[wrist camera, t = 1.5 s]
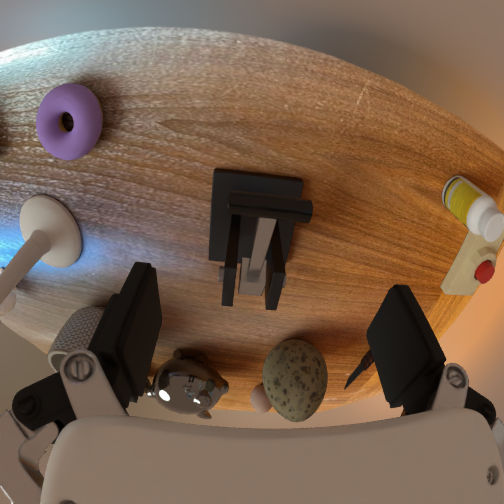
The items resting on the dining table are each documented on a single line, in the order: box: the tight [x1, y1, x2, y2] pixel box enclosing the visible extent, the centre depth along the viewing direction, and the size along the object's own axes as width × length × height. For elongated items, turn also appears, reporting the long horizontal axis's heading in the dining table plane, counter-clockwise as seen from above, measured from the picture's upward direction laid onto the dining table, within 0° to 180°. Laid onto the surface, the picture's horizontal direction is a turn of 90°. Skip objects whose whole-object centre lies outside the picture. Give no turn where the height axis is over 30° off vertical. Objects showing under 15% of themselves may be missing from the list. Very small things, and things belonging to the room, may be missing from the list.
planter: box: [47, 307, 105, 373], centre depth 41 cm, size 14×14×13 cm
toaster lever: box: [227, 191, 313, 296], centre depth 22 cm, size 12×5×2 cm, turn 173°
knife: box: [344, 349, 374, 390], centre depth 52 cm, size 17×1×3 cm, turn 166°
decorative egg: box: [262, 339, 328, 422], centre depth 43 cm, size 11×11×15 cm
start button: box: [475, 260, 495, 284], centre depth 34 cm, size 4×4×2 cm
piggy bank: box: [146, 350, 229, 419], centre depth 48 cm, size 11×15×12 cm
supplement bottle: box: [442, 176, 504, 242], centre depth 28 cm, size 5×5×10 cm
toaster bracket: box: [209, 169, 304, 310], centre depth 30 cm, size 12×10×13 cm
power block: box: [440, 230, 504, 295], centre depth 36 cm, size 14×8×4 cm, turn 173°
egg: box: [250, 385, 272, 413], centre depth 55 cm, size 5×5×7 cm
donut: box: [36, 83, 103, 160], centre depth 25 cm, size 10×9×5 cm
